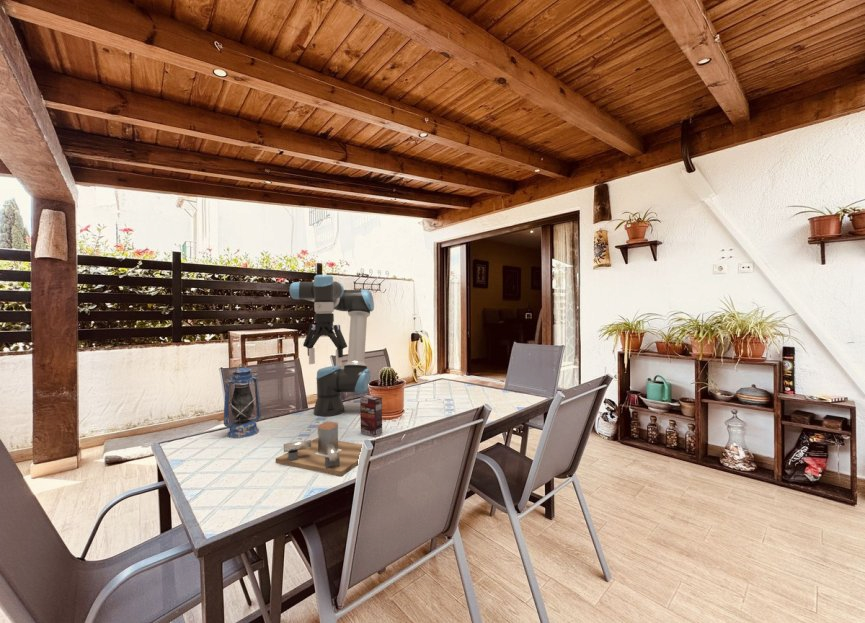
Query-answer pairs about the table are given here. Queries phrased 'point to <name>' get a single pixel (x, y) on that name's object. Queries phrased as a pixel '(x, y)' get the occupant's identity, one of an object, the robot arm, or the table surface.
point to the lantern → (242, 404)
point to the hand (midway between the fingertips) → (325, 364)
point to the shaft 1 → (296, 448)
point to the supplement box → (371, 415)
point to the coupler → (327, 436)
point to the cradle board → (317, 461)
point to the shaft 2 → (331, 457)
